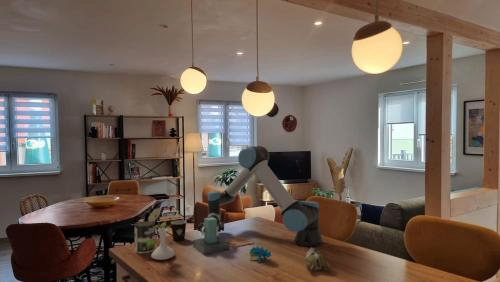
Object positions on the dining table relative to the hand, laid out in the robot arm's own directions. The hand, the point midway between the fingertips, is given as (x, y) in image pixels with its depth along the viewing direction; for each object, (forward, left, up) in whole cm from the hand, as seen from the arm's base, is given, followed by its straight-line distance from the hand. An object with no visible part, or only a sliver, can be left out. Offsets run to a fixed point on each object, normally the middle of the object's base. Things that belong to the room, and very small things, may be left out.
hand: (209, 232), depth 170 cm
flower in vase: (+5, +24, -10) cm, 26 cm away
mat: (+5, -19, -10) cm, 23 cm away
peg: (+4, -2, -10) cm, 11 cm away
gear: (-23, -16, -10) cm, 30 cm away
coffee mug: (+29, +8, -10) cm, 32 cm away
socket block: (+4, -2, -10) cm, 11 cm away
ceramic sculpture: (-45, -31, -10) cm, 56 cm away
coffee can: (+21, +28, -10) cm, 36 cm away
